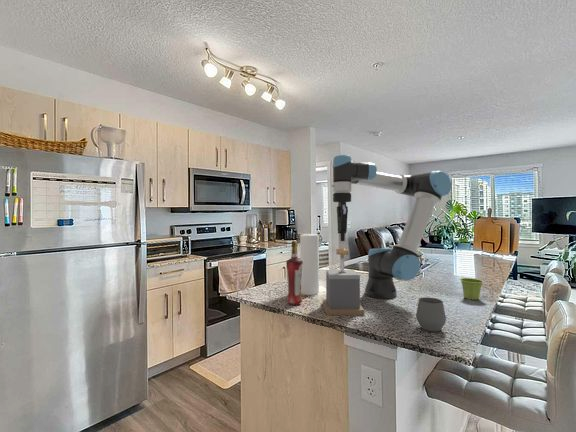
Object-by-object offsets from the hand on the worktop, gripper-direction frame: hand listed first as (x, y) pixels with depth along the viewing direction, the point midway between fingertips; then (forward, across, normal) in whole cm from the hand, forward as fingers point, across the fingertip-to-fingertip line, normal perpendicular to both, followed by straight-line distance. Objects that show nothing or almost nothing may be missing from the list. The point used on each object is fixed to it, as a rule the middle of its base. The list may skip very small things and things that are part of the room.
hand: (342, 248), depth 128 cm
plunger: (+16, 0, 0) cm, 16 cm away
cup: (+26, +22, +27) cm, 43 cm away
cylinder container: (+26, -27, -12) cm, 39 cm away
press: (+26, 0, 0) cm, 26 cm away
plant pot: (+26, -16, +64) cm, 71 cm away
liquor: (+26, -8, -20) cm, 34 cm away
